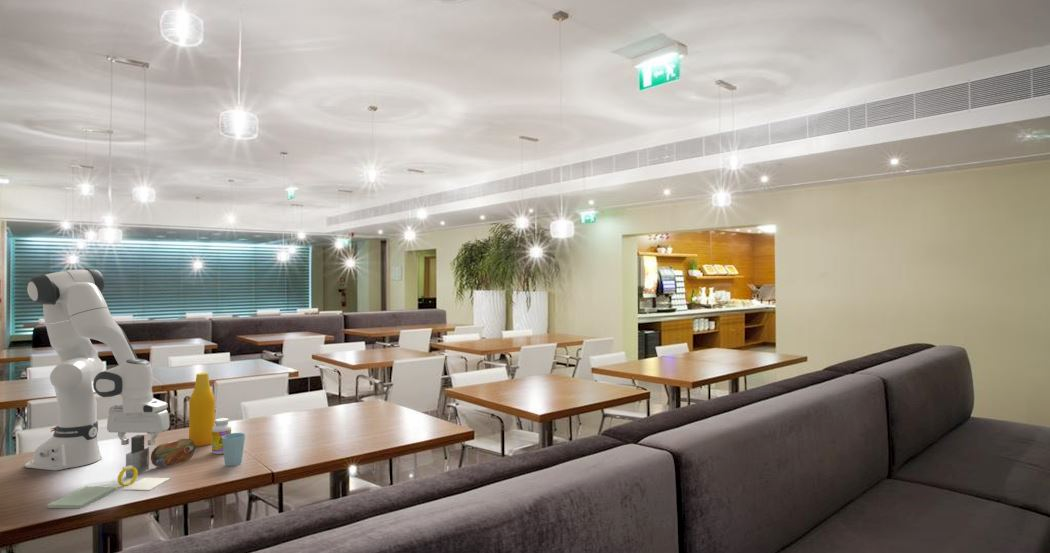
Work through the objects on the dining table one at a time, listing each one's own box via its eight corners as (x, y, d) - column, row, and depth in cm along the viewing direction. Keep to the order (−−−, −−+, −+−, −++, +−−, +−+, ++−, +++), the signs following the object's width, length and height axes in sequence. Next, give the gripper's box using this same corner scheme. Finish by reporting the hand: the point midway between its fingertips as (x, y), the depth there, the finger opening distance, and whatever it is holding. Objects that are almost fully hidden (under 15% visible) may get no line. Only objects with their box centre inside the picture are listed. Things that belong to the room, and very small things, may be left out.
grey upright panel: (125, 477, 188) (126, 439, 188) (142, 469, 196) (142, 433, 196) (132, 477, 188) (132, 439, 188) (148, 469, 196) (149, 433, 196)
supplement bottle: (217, 455, 212) (217, 422, 211) (208, 452, 215) (208, 419, 215) (234, 451, 217) (234, 418, 217) (225, 448, 221) (225, 416, 221)
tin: (154, 470, 195) (154, 447, 195) (149, 469, 196) (149, 446, 196) (195, 458, 208) (195, 436, 208) (190, 457, 210) (190, 435, 210)
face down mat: (122, 490, 177) (122, 489, 177) (144, 478, 187) (144, 477, 187) (149, 490, 177) (149, 489, 177) (170, 479, 187) (170, 478, 187)
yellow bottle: (208, 438, 233) (208, 370, 233) (218, 442, 227) (219, 373, 227) (184, 443, 225) (185, 373, 225) (194, 448, 220) (195, 376, 220)
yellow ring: (122, 488, 179) (121, 471, 179) (116, 487, 180) (115, 470, 179) (139, 480, 185) (138, 463, 185) (133, 480, 186) (132, 463, 185)
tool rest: (47, 507, 163) (47, 504, 163) (85, 489, 177) (85, 486, 177) (80, 508, 163) (80, 505, 163) (116, 490, 177) (116, 486, 177)
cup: (216, 466, 200) (217, 438, 200) (230, 459, 207) (231, 432, 207) (235, 467, 199) (236, 439, 199) (249, 460, 206) (249, 433, 206)
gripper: (101, 407, 189) (102, 447, 189) (159, 407, 189) (160, 447, 189) (115, 403, 195) (116, 441, 196) (172, 403, 195) (172, 441, 195)
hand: (138, 444), depth 192 cm, fingers open, 8 cm apart
